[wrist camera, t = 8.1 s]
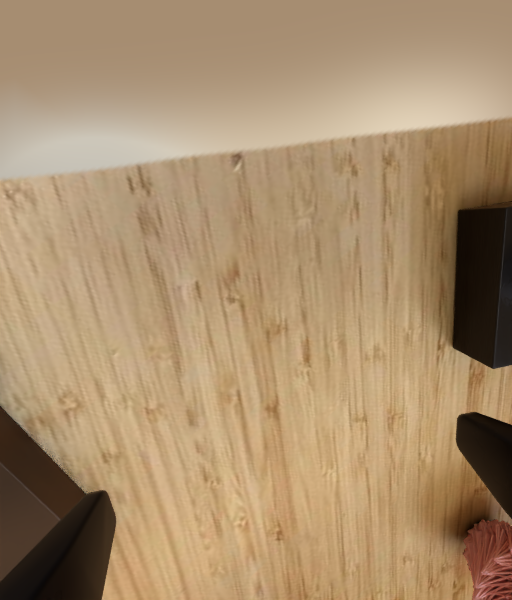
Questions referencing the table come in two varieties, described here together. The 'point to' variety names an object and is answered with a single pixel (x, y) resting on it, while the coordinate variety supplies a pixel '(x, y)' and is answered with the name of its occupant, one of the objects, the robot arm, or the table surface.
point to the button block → (28, 494)
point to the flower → (490, 559)
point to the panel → (484, 284)
